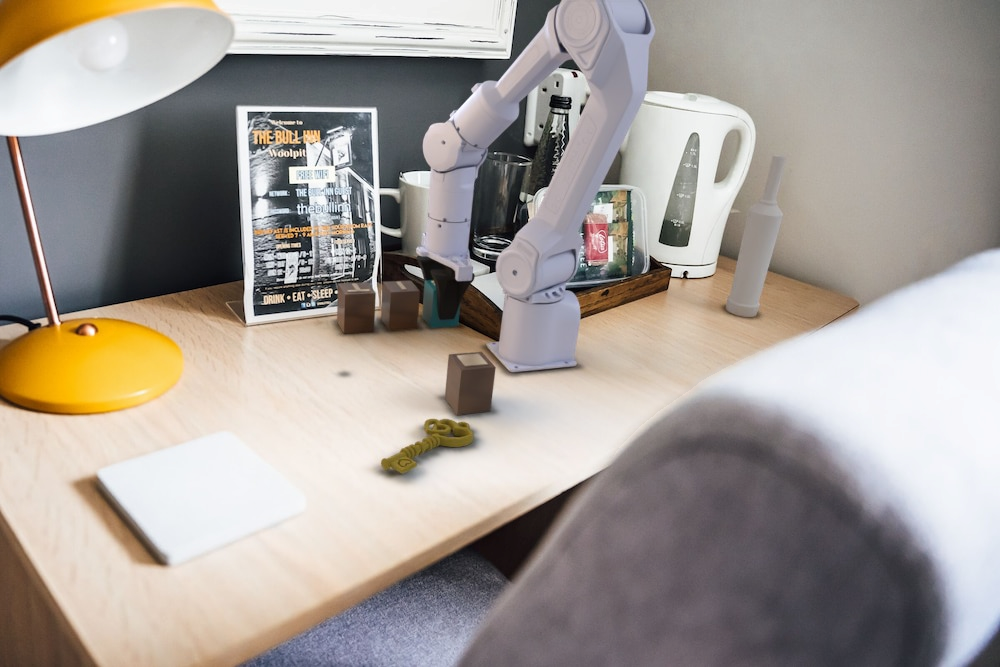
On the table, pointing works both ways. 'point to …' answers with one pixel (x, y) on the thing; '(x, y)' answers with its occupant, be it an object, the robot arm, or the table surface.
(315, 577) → the table surface
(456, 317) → the teal rectangular block
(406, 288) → the tile
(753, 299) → the bottle
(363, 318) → the tile
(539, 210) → the robot arm
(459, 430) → the key
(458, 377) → the brown tall block
